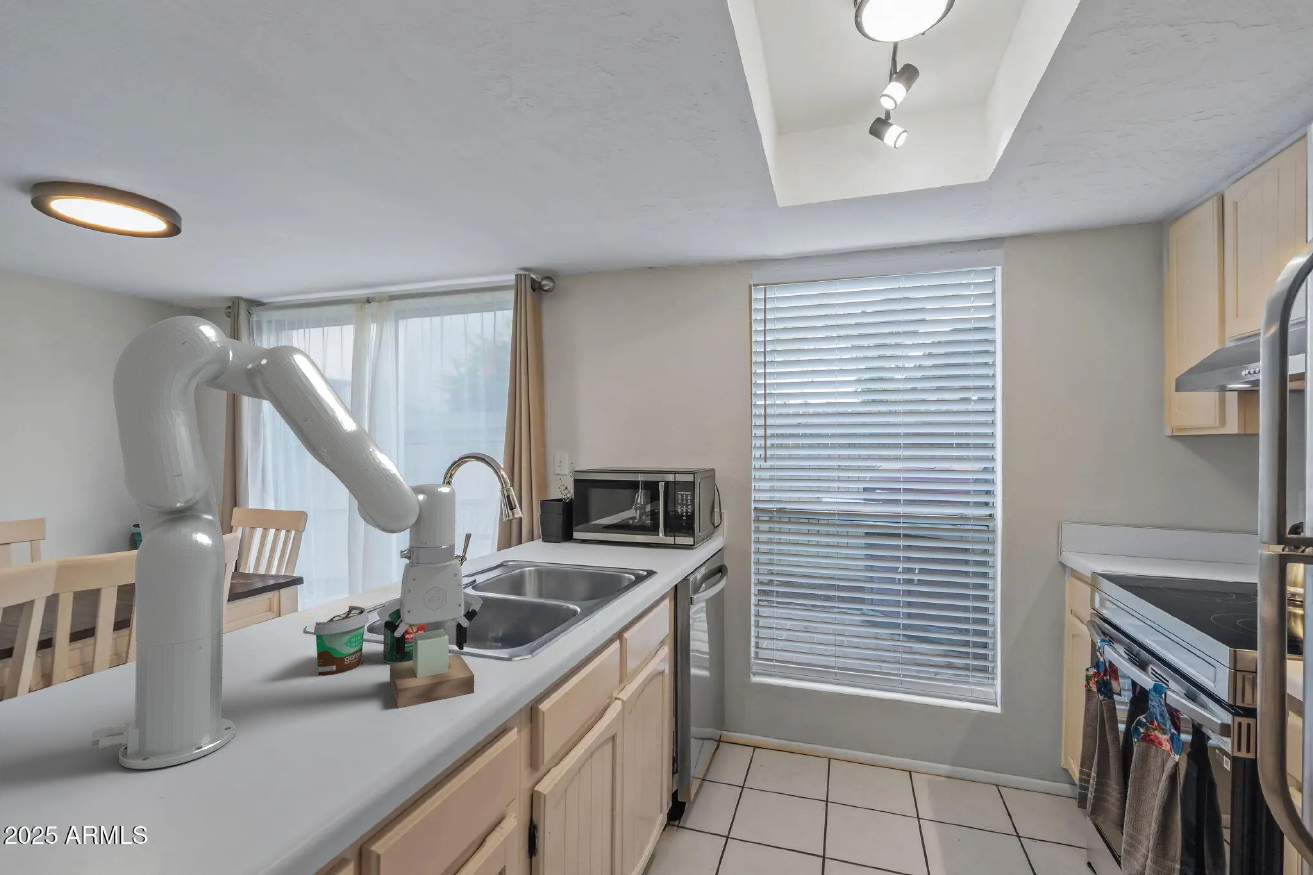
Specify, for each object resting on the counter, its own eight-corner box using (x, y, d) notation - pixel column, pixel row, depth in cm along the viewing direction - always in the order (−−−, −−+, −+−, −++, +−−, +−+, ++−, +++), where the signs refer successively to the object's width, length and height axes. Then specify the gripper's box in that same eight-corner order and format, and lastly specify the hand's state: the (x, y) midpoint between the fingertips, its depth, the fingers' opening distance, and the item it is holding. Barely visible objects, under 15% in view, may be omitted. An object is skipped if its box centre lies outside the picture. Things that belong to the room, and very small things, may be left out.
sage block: (417, 677, 100) (417, 642, 100) (413, 668, 104) (413, 633, 104) (448, 672, 102) (448, 637, 102) (442, 662, 107) (443, 629, 107)
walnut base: (398, 707, 95) (398, 689, 95) (389, 681, 105) (389, 664, 105) (474, 692, 101) (474, 674, 101) (459, 669, 111) (459, 653, 111)
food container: (346, 679, 106) (347, 623, 107) (313, 678, 107) (313, 623, 107) (380, 655, 119) (380, 605, 119) (349, 654, 119) (350, 604, 119)
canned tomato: (406, 666, 113) (407, 608, 113) (373, 661, 115) (374, 605, 115) (434, 652, 120) (435, 598, 120) (403, 648, 123) (403, 595, 123)
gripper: (380, 563, 96) (379, 669, 96) (487, 553, 105) (486, 650, 104) (376, 555, 102) (374, 654, 102) (477, 547, 111) (476, 638, 111)
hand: (431, 652), depth 103 cm, fingers open, 9 cm apart
